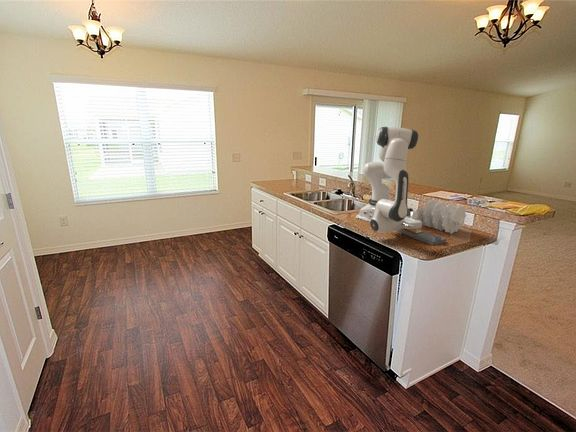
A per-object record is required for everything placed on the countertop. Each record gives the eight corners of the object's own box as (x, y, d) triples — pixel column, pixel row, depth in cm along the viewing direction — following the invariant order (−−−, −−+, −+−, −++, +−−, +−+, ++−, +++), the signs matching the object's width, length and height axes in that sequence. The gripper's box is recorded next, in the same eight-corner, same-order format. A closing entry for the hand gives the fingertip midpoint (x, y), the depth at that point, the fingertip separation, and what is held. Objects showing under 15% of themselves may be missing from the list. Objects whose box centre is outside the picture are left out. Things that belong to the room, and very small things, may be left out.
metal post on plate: (402, 228, 174) (404, 210, 172) (409, 227, 176) (411, 209, 174) (416, 233, 165) (419, 214, 162) (423, 232, 167) (426, 213, 164)
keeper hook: (431, 238, 157) (432, 235, 157) (435, 237, 158) (436, 234, 158) (437, 240, 154) (437, 237, 154) (441, 239, 155) (441, 236, 155)
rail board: (397, 231, 175) (397, 228, 175) (409, 229, 179) (410, 226, 179) (432, 245, 153) (432, 241, 153) (445, 242, 157) (446, 239, 157)
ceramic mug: (405, 215, 211) (406, 205, 208) (413, 218, 203) (414, 207, 201) (393, 217, 207) (394, 206, 205) (401, 220, 200) (402, 209, 197)
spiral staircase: (425, 229, 192) (463, 238, 171) (409, 221, 183) (447, 230, 162) (434, 203, 192) (474, 209, 171) (419, 194, 183) (459, 199, 162)
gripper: (411, 221, 154) (430, 218, 160) (384, 212, 172) (402, 210, 178) (409, 232, 156) (428, 229, 161) (383, 222, 174) (401, 220, 179)
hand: (414, 219), depth 170 cm, fingers open, 5 cm apart
